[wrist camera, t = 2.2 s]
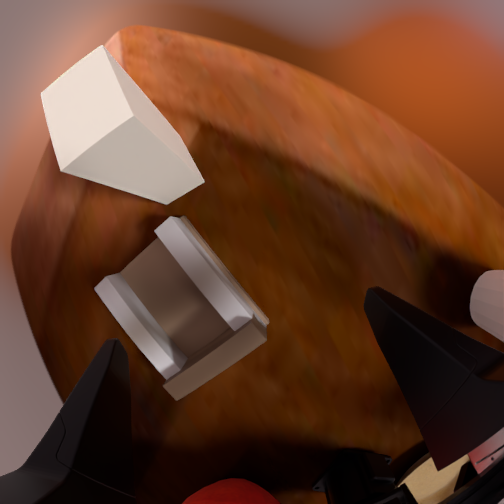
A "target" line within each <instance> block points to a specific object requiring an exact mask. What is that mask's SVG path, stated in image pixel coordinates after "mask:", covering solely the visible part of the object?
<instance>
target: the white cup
mask: <svg viewBox="0 0 504 504" xmlns="http://www.w3.org/2000/svg"><path fill="white" fill-rule="evenodd" d="M470 313H471V317H472V319H473V321H474V322H475V324H476V325H478V326H479V327H481V328H483V329H484V330H486V331H487V332H489V333H491V334H492V335H494V336H495V337H497V338H498V339H500V340H501V341H503V342H504V270H491V271H486V272H485V273H484V274H482V275H481V276H480V277H479V279H478V280H477V282H476V284H475V285H474V288H473V291H472V294H471V297H470Z"/></svg>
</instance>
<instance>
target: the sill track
mask: <svg viewBox="0 0 504 504" xmlns="http://www.w3.org/2000/svg"><path fill="white" fill-rule="evenodd" d="M154 232H155V233H156V234H157V236H158V238H157V239H155V240H154V241H153V242H152V243H151V244H150V245H149V246H148V247H147V248H146V249H144V250H143V251H142V252H141V253H140V254H139V255H138V256H137V257H136V258H135V259H134V260H133V261H131V262H130V263H129V264H128V265H127V266H126V267H125V268H124V269H123V270H122V271H121V272H120V273H117V274H113V275H109V276H106V277H105V278H104V279H103V280H102V281H101V282H100V283H99V284H98V285H97V286H96V287H95V288H94V289H95V291H96V292H97V294H98V295H99V296H100V298H101V299H102V301H103V302H104V303H105V305H106V306H107V308H108V309H109V310H110V312H111V313H112V314H113V316H114V317H115V318H116V320H117V321H118V322H119V324H120V325H121V326H122V328H123V329H124V330H125V331H126V333H127V334H128V335H129V336H130V338H131V339H132V340H133V341H134V343H135V344H136V345H137V346H138V348H139V349H140V350H141V351H142V352H143V354H144V355H145V356H146V357H147V358H148V359H149V361H150V362H151V363H152V364H153V365H154V366H155V367H156V369H157V370H158V371H159V372H160V373H161V374H162V375H163V376H164V377H165V379H166V381H165V383H164V384H163V387H164V388H165V389H166V390H167V391H168V392H169V393H170V394H171V395H172V396H173V397H174V399H175V400H176V401H178V400H179V399H181V398H182V397H184V396H186V395H187V394H189V393H190V392H192V391H193V390H195V389H197V388H198V387H200V386H201V385H203V384H204V383H206V382H207V381H209V380H210V379H212V378H213V377H215V376H216V375H218V374H219V373H221V372H222V371H224V370H225V369H227V368H228V367H230V366H231V365H233V364H234V363H236V362H237V361H238V360H240V359H241V358H243V357H244V356H246V355H247V354H248V353H250V352H251V351H253V350H254V349H255V348H257V347H258V346H260V345H261V344H262V343H264V342H265V341H266V340H267V332H266V325H267V324H269V319H268V318H267V317H266V315H265V314H264V313H263V312H262V311H261V309H260V308H259V307H258V306H257V305H256V303H255V302H254V301H253V300H252V299H251V297H250V296H249V295H248V294H247V292H246V291H245V290H244V289H243V288H242V286H241V285H240V284H239V283H238V281H237V280H236V279H235V278H234V277H233V275H232V274H231V273H230V272H229V270H228V269H227V268H226V267H225V265H224V264H223V263H222V262H221V260H220V259H219V258H218V257H217V255H216V254H215V253H214V252H213V250H212V249H211V248H210V247H209V245H208V244H207V243H206V242H205V240H204V239H203V238H202V237H201V235H200V234H199V233H198V232H197V230H196V229H195V228H194V226H193V225H192V224H191V223H190V221H189V220H188V219H187V217H186V216H182V217H180V218H177V217H172V216H170V217H169V218H168V219H167V220H166V221H164V222H163V223H162V224H161V225H160V226H159V227H158V228H157V229H156V230H154Z"/></svg>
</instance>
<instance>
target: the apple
mask: <svg viewBox="0 0 504 504" xmlns="http://www.w3.org/2000/svg"><path fill="white" fill-rule="evenodd" d="M182 504H281V503H280V502H279V501H278V500H277V499H275V498H274V497H273V496H272V495H271V494H270V493H269V492H267V491H266V490H265V489H263V488H262V487H260V486H259V485H257V484H255V483H253V482H251V481H248V480H246V479H239V478H229V479H224V480H220V481H218V482H216V483H213V484H211V485H208V486H206V487H204V488H202V489H200V490H199V491H197V492H196V493H194V494H192V495H191V496H189V497H188V498H187V499H186V500H185V501H184V502H183V503H182Z"/></svg>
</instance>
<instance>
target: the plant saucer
mask: <svg viewBox="0 0 504 504" xmlns="http://www.w3.org/2000/svg"><path fill="white" fill-rule="evenodd" d="M469 460H470V459H469V457H468V455H465V456H463V457H462V458H460V459H459V460H457V461H456V462H454V463H452V464H451V465H449V466H447V467H446V468H444V469H442V470H440V471H439V472H438V471H437V469H436V467H435V465H434V462H433V460H432V457H431V455H430V452H429V453H427V454H426V455H424V456H423V457H422V458H420V459H419V460H418V461H417V462H416V463H414V464H413V465H412V466H411V467H410V468H409V469H408V470H407V471H406V473H405V474H404V475H403V476H402V477H401V479H400V480H399V482H398V483H397V485H396V488H397V487H399V486H400V485H401V484H403V483H406V485H407V487H408V488H409V490H410V491H411V493H412V494H413V496H414V497H415V499H416V501H417V502H418V504H438V503H440V502H441V501H443V500H444V499H446V498H447V497H449V496H450V495H452V494H453V493H454V492H453V491H454V488H455V485H456V482H457V479H458V475H459V472H460V469H461V466H462V465H463V464H465V463H466V462H467V461H469Z"/></svg>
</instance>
